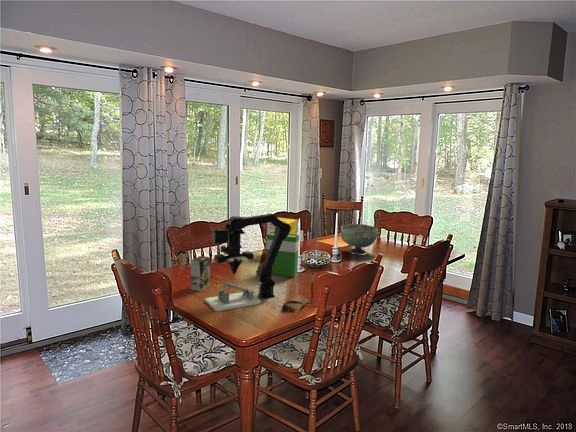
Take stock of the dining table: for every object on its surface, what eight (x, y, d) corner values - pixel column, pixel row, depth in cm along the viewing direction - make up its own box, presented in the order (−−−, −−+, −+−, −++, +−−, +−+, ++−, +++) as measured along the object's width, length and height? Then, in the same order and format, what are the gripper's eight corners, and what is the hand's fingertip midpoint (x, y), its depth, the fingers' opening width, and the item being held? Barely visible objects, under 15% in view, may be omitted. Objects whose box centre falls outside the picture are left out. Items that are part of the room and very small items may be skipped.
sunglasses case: (298, 313, 196) (292, 300, 196) (286, 318, 199) (280, 305, 199) (312, 300, 212) (306, 288, 212) (300, 305, 215) (294, 293, 215)
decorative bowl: (375, 249, 321) (376, 223, 318) (378, 259, 296) (380, 231, 293) (340, 248, 324) (340, 223, 320) (340, 258, 299) (341, 230, 295)
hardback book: (265, 273, 253) (266, 234, 249) (269, 270, 260) (270, 231, 256) (294, 277, 249) (296, 237, 244) (297, 273, 256) (299, 234, 252)
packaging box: (297, 254, 299) (298, 220, 294) (287, 260, 284) (289, 223, 280) (276, 251, 305) (277, 217, 301) (266, 256, 290) (267, 220, 286)
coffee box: (201, 291, 219) (201, 261, 216) (190, 289, 221) (190, 259, 218) (210, 286, 227) (210, 257, 224) (199, 284, 229) (200, 255, 226)
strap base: (248, 294, 218) (248, 283, 217) (260, 303, 206) (261, 291, 205) (205, 301, 206) (205, 289, 205) (216, 311, 194) (216, 299, 193)
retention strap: (246, 291, 212) (247, 288, 212) (250, 294, 207) (252, 291, 208) (221, 282, 204) (223, 280, 204) (225, 285, 200) (227, 283, 200)
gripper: (244, 237, 217) (243, 267, 219) (210, 240, 207) (209, 271, 210) (254, 242, 207) (253, 273, 210) (218, 246, 198) (218, 278, 200)
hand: (233, 273), depth 208 cm, fingers closed
